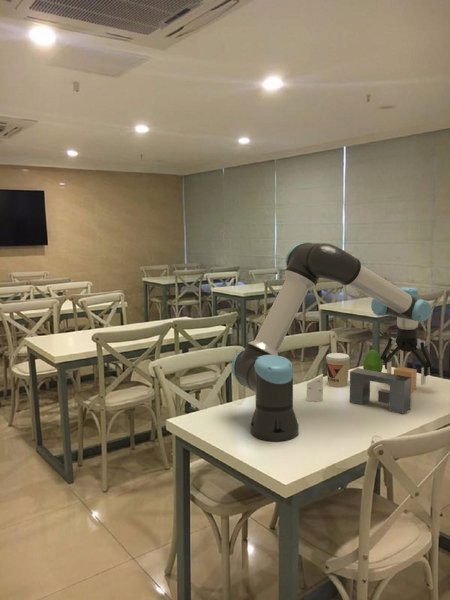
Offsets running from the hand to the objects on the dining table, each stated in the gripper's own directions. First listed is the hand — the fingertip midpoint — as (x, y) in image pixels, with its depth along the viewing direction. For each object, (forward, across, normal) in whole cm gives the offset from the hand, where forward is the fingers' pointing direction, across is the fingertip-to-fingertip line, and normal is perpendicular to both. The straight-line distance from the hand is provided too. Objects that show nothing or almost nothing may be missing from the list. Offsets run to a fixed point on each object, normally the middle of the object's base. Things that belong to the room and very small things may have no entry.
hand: (405, 380), depth 197 cm
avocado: (+3, +17, -8) cm, 19 cm away
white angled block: (+4, +22, +32) cm, 39 cm away
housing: (+3, 0, +24) cm, 25 cm away
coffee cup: (+3, +24, +10) cm, 26 cm away
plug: (+3, 0, +9) cm, 10 cm away
